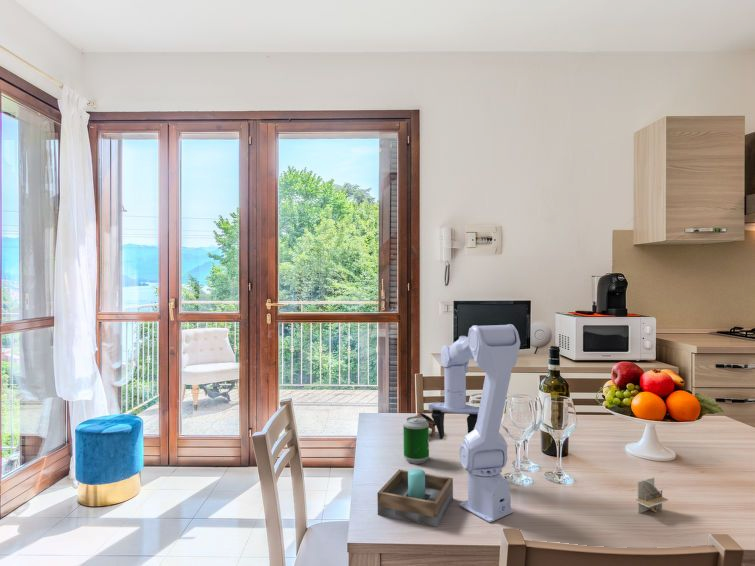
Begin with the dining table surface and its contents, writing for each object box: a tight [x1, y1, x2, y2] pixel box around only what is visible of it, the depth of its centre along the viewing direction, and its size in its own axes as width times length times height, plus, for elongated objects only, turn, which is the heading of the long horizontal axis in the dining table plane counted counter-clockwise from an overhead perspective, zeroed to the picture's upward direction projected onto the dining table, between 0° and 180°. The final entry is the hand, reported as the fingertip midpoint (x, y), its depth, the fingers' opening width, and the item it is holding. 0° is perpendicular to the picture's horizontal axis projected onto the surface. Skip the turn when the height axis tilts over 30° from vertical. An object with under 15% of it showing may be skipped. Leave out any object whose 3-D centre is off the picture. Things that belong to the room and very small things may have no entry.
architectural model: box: [635, 476, 669, 514], centre depth 105 cm, size 3×7×7 cm, turn 115°
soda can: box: [402, 416, 430, 464], centre depth 138 cm, size 8×8×12 cm
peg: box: [407, 468, 426, 500], centre depth 110 cm, size 4×4×8 cm
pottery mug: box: [413, 412, 436, 437], centre depth 160 cm, size 12×10×8 cm
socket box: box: [376, 469, 454, 528], centre depth 110 cm, size 14×14×5 cm
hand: (455, 439), depth 126 cm, fingers open, 7 cm apart
